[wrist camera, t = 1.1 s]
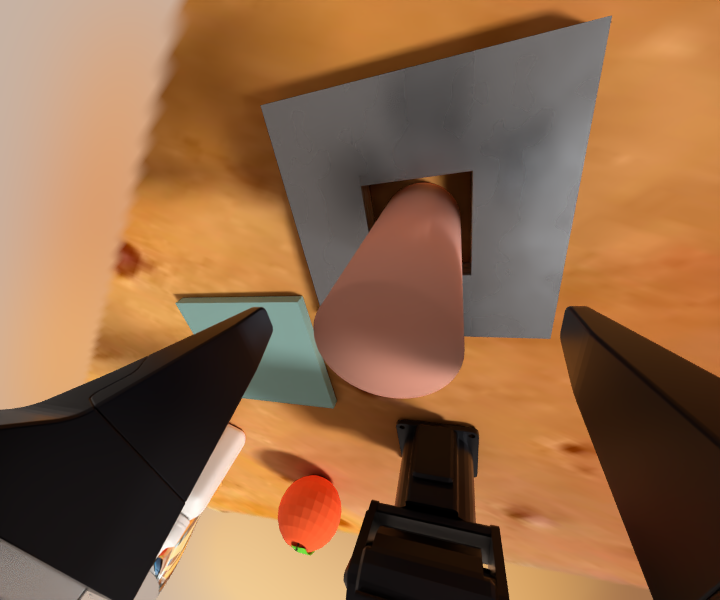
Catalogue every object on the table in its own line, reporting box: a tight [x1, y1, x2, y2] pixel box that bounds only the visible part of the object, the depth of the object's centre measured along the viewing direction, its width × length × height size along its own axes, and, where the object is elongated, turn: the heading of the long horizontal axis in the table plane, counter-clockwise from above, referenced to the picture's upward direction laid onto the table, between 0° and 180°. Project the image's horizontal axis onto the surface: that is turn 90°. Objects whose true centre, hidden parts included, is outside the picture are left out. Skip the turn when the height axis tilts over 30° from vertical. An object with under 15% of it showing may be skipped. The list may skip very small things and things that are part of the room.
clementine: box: [278, 475, 341, 555], centre depth 33 cm, size 8×7×7 cm
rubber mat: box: [176, 296, 337, 408], centre depth 25 cm, size 11×11×1 cm
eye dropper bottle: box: [157, 424, 245, 557], centre depth 31 cm, size 4×6×12 cm
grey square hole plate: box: [260, 16, 612, 339], centre depth 15 cm, size 13×13×2 cm
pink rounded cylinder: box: [313, 182, 464, 398], centre depth 12 cm, size 4×4×10 cm
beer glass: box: [88, 481, 223, 600], centre depth 39 cm, size 7×7×15 cm
